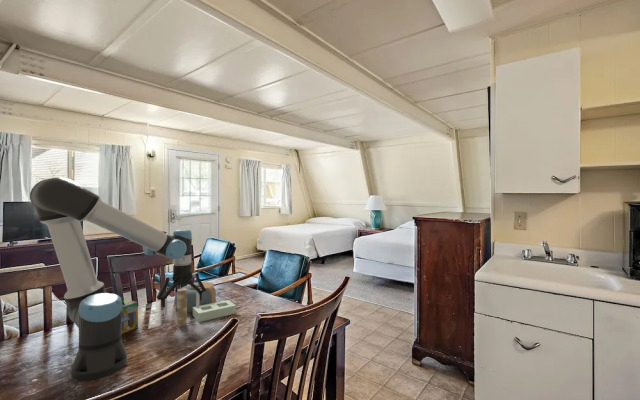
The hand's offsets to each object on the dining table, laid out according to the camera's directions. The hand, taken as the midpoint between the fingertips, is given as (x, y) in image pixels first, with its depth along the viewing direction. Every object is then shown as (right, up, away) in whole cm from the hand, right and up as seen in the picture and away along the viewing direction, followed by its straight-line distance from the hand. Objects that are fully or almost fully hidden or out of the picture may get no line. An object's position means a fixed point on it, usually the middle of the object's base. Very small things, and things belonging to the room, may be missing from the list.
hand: (182, 311), depth 134 cm
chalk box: (-24, -6, -6) cm, 25 cm away
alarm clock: (-3, -7, +24) cm, 25 cm away
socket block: (+10, -7, +13) cm, 18 cm away
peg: (0, -6, 0) cm, 6 cm away
